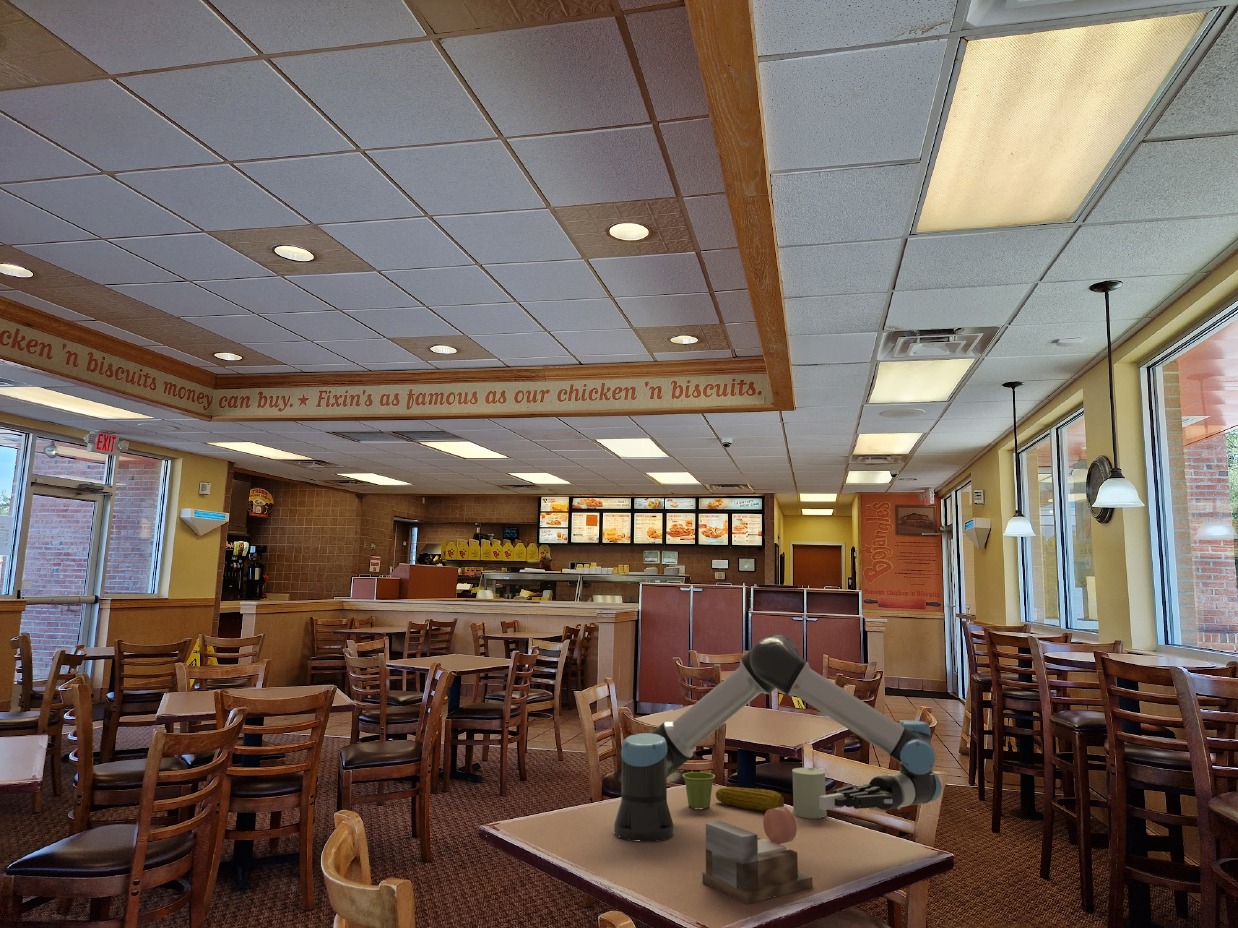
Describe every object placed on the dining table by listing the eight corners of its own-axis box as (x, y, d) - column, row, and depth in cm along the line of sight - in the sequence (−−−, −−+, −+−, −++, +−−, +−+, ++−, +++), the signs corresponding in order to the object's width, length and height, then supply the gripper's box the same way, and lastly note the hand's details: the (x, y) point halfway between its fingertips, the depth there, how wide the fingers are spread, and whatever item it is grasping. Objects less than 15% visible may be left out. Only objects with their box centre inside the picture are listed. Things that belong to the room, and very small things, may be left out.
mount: (747, 904, 154) (746, 838, 156) (702, 882, 165) (702, 821, 167) (812, 887, 163) (811, 825, 165) (765, 867, 175) (764, 810, 177)
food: (786, 812, 222) (785, 790, 223) (777, 816, 217) (777, 794, 218) (719, 800, 234) (719, 779, 235) (710, 804, 229) (710, 783, 230)
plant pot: (681, 810, 222) (681, 777, 224) (684, 801, 232) (683, 770, 233) (714, 811, 221) (714, 779, 222) (716, 803, 230) (715, 772, 231)
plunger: (751, 882, 159) (750, 819, 161) (728, 871, 165) (728, 811, 167) (797, 870, 166) (796, 810, 168) (774, 861, 172) (773, 803, 174)
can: (829, 812, 222) (828, 767, 224) (823, 820, 214) (822, 773, 216) (796, 808, 226) (795, 764, 228) (789, 815, 218) (788, 770, 220)
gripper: (914, 814, 183) (844, 828, 171) (869, 801, 194) (800, 813, 182) (913, 780, 185) (843, 791, 172) (868, 769, 195) (800, 779, 183)
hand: (821, 802), depth 177 cm, fingers closed
